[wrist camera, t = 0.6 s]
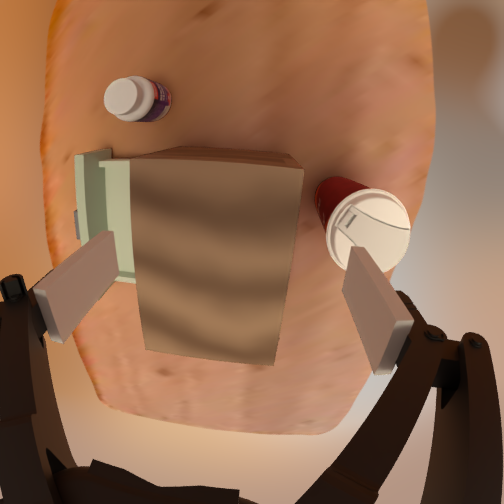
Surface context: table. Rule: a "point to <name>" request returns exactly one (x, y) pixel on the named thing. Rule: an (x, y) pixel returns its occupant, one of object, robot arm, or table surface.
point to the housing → (214, 250)
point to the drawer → (105, 205)
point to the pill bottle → (137, 99)
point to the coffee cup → (362, 222)
